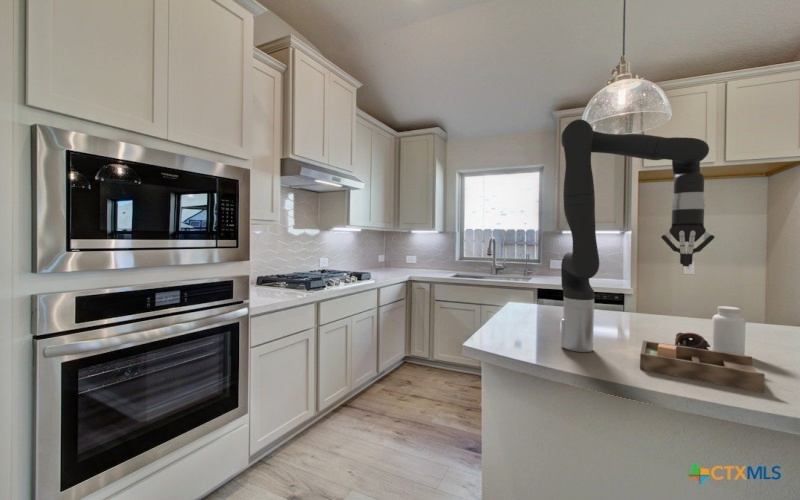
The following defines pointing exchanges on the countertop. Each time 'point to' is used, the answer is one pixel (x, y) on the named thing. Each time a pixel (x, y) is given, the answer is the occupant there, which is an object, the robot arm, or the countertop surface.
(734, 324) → the pill bottle
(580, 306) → the robot arm
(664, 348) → the terracotta block
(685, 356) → the box
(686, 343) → the pottery mug
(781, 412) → the countertop surface
